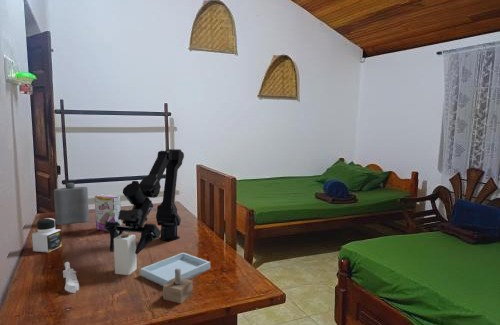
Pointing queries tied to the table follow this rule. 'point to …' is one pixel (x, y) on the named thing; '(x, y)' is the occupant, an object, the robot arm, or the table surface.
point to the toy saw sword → (70, 279)
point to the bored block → (125, 254)
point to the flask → (71, 205)
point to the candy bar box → (107, 210)
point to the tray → (166, 268)
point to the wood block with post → (178, 288)
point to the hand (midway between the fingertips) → (123, 252)
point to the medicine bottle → (46, 236)
